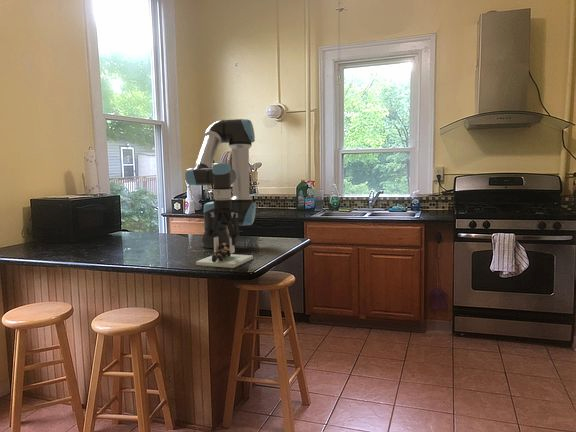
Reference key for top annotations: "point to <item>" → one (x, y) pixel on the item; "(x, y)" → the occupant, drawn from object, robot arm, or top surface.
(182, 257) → the top surface
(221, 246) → the toy
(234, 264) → the baseplate
